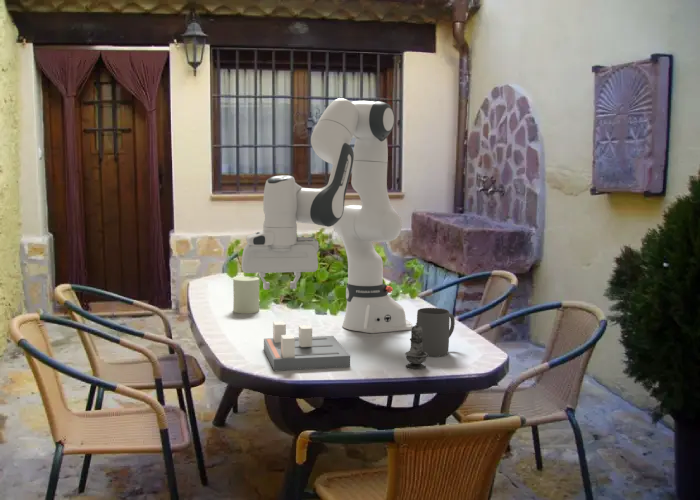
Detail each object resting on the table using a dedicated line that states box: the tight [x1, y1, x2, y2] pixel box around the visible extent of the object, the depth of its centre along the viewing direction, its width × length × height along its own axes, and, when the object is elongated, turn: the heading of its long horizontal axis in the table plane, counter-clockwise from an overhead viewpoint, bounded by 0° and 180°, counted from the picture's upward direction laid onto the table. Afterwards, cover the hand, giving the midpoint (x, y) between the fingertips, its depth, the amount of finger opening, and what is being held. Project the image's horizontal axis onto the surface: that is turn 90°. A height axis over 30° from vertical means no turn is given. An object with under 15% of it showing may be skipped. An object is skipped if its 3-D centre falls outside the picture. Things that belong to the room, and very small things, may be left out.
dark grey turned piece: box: [404, 321, 428, 371], centre depth 196 cm, size 6×6×12 cm
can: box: [232, 276, 260, 315], centre depth 263 cm, size 9×9×12 cm
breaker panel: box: [263, 320, 351, 371], centre depth 204 cm, size 20×22×8 cm
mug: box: [416, 307, 456, 358], centre depth 212 cm, size 14×9×12 cm
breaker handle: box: [298, 324, 313, 347], centre depth 204 cm, size 3×4×5 cm
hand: (279, 288), depth 200 cm, fingers open, 6 cm apart
